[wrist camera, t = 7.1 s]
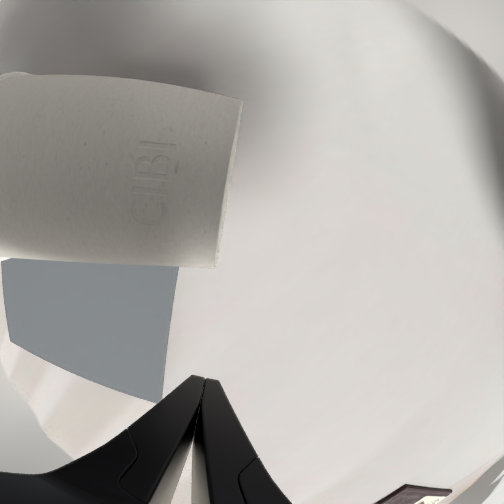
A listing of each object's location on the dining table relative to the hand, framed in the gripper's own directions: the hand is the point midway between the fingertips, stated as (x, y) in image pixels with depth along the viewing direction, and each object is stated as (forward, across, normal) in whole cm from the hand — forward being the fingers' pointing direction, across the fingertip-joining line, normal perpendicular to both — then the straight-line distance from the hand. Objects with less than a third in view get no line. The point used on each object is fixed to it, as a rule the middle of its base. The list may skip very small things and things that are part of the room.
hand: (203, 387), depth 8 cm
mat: (+7, +9, 0) cm, 11 cm away
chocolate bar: (+8, -31, +28) cm, 42 cm away
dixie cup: (+3, 0, -6) cm, 7 cm away
